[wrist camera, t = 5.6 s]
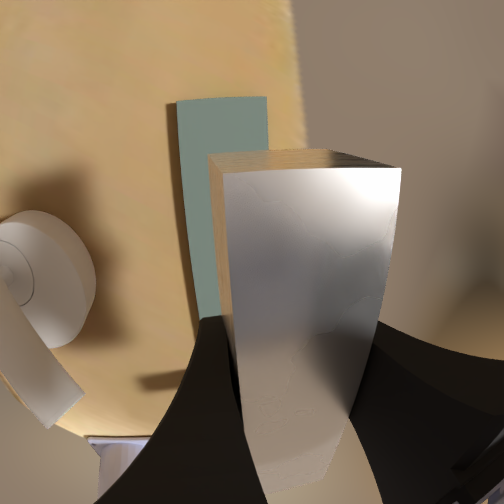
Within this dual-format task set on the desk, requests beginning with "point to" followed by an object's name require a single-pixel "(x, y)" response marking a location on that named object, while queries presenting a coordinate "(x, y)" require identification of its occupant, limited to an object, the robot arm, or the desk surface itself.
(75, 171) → the desk surface
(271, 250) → the silver rail
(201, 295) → the rubber mat
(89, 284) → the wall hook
